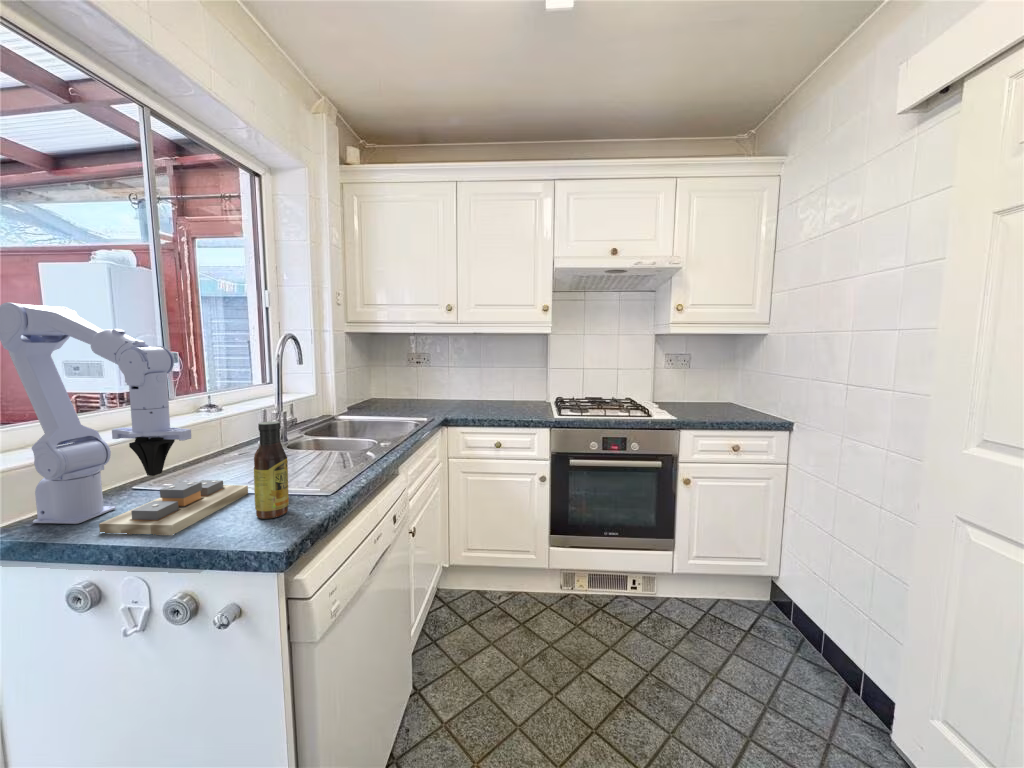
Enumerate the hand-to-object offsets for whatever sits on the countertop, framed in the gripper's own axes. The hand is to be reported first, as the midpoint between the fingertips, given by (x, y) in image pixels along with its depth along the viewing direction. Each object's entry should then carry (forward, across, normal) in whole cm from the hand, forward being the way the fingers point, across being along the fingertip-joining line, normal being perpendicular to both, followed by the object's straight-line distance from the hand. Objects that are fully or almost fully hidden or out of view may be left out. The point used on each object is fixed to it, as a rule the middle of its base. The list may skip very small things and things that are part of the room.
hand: (154, 474), depth 83 cm
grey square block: (+10, +1, -1) cm, 10 cm away
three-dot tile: (+10, +1, +12) cm, 15 cm away
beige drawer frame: (+10, +1, +5) cm, 11 cm away
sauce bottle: (+10, +21, +5) cm, 24 cm away
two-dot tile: (+8, +1, +5) cm, 9 cm away
